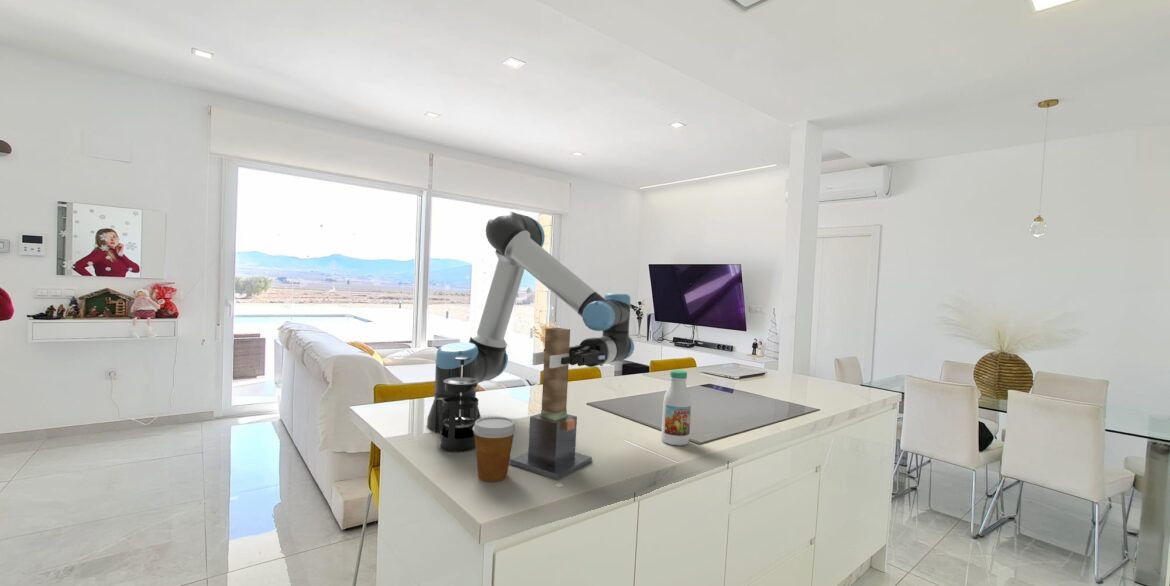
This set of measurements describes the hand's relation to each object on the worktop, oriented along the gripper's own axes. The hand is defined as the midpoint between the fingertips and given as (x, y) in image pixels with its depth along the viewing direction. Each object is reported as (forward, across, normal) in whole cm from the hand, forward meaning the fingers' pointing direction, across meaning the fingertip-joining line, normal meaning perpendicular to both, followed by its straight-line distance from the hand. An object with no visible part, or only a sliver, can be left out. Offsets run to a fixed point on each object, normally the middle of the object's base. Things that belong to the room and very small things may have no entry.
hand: (542, 360), depth 112 cm
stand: (-5, 0, -25) cm, 26 cm away
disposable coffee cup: (+9, +5, -26) cm, 28 cm away
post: (-5, 0, -17) cm, 18 cm away
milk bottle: (-41, -16, -25) cm, 51 cm away
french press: (+1, +25, -26) cm, 36 cm away
